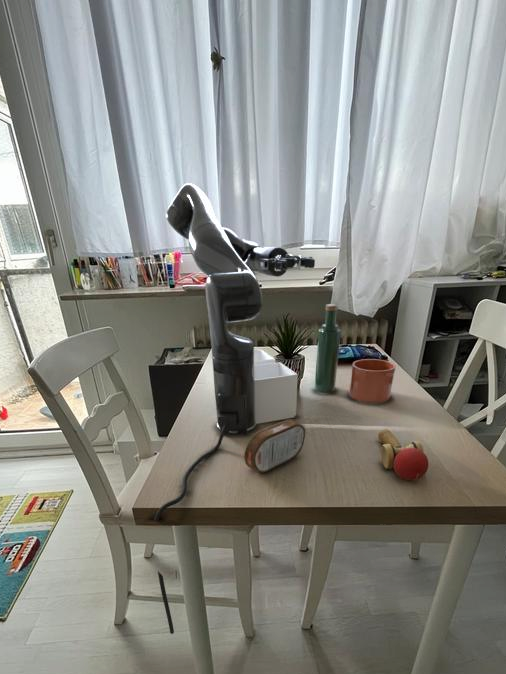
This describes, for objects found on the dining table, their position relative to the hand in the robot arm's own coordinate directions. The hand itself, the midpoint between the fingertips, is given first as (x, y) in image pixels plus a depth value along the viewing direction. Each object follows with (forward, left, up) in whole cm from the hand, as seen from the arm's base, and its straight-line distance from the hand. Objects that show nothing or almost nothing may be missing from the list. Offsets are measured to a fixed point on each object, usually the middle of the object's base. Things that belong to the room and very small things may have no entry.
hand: (299, 264), depth 104 cm
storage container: (-19, +9, -32) cm, 39 cm away
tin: (-51, +2, -32) cm, 61 cm away
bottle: (-8, -9, -32) cm, 34 cm away
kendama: (-48, -22, -32) cm, 62 cm away
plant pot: (-12, -21, -32) cm, 40 cm away
